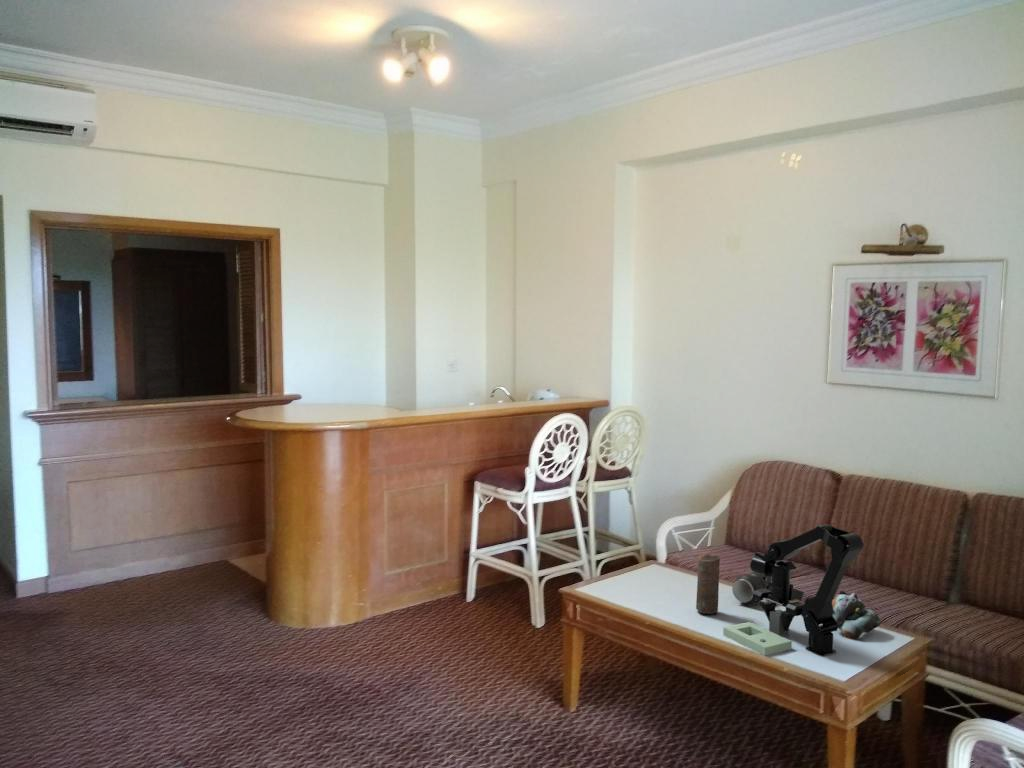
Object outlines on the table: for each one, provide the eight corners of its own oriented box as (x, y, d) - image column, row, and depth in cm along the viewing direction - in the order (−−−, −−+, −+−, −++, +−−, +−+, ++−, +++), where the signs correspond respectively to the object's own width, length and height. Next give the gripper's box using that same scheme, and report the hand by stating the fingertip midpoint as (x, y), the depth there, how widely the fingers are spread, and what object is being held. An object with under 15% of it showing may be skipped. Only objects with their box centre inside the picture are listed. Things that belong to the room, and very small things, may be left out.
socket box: (791, 649, 246) (791, 640, 245) (764, 655, 241) (765, 646, 240) (749, 629, 262) (749, 621, 261) (723, 635, 256) (723, 626, 256)
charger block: (788, 635, 257) (789, 612, 257) (778, 637, 255) (779, 614, 255) (778, 630, 261) (779, 608, 260) (769, 632, 259) (769, 610, 258)
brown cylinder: (720, 616, 273) (722, 559, 271) (699, 616, 273) (700, 558, 271) (714, 609, 280) (716, 552, 279) (693, 608, 280) (695, 552, 279)
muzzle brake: (791, 592, 300) (792, 564, 299) (754, 610, 280) (755, 580, 279) (767, 586, 307) (768, 559, 306) (729, 603, 287) (730, 574, 286)
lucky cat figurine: (853, 642, 251) (832, 600, 254) (831, 644, 262) (811, 603, 265) (889, 624, 256) (868, 582, 259) (866, 626, 267) (846, 586, 270)
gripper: (821, 585, 252) (819, 633, 253) (777, 569, 269) (775, 614, 270) (796, 590, 247) (794, 639, 248) (752, 573, 264) (750, 620, 265)
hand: (778, 627), depth 258 cm, fingers open, 6 cm apart
